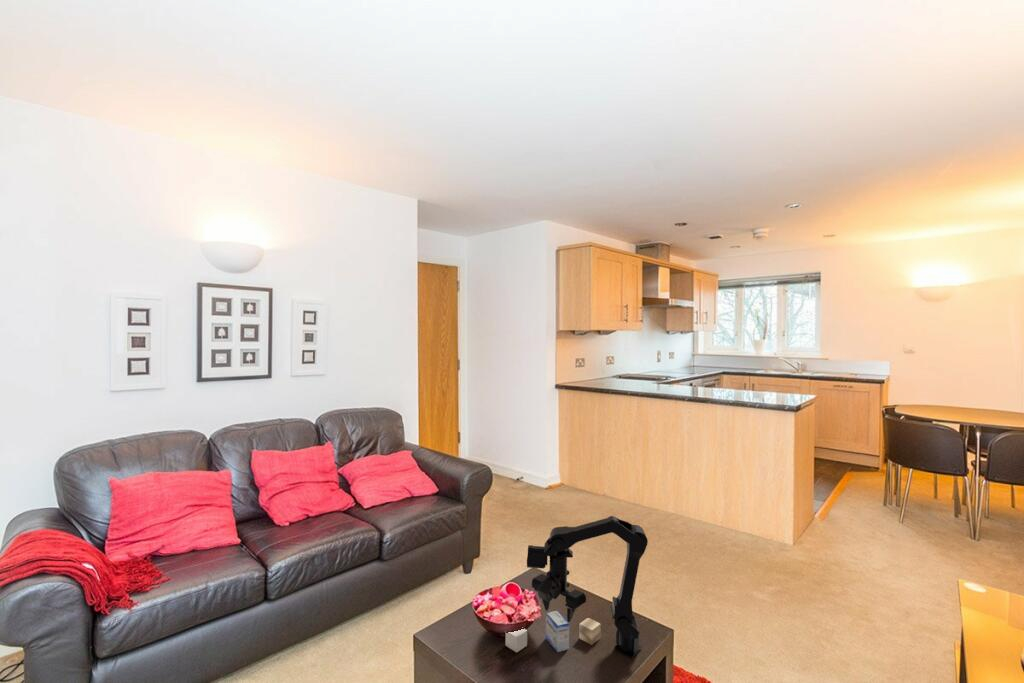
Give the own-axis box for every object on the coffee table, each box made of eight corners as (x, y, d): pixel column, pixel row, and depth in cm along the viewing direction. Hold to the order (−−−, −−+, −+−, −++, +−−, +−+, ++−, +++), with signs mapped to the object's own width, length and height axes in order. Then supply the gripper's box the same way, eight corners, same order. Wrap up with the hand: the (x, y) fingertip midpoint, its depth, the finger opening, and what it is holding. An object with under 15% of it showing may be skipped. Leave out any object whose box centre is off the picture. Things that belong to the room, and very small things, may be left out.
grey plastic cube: (527, 645, 156) (527, 630, 156) (516, 652, 152) (516, 637, 152) (516, 638, 159) (516, 623, 159) (505, 645, 155) (505, 630, 155)
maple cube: (600, 638, 160) (600, 623, 160) (591, 645, 156) (592, 630, 156) (587, 631, 163) (588, 617, 163) (579, 638, 160) (579, 623, 159)
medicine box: (545, 638, 159) (545, 613, 159) (556, 635, 161) (557, 609, 161) (557, 653, 152) (557, 626, 152) (569, 649, 154) (569, 622, 154)
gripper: (520, 567, 157) (520, 614, 157) (565, 588, 144) (565, 639, 144) (542, 556, 165) (542, 600, 165) (587, 575, 152) (586, 623, 152)
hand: (557, 615), depth 156 cm, fingers open, 9 cm apart
